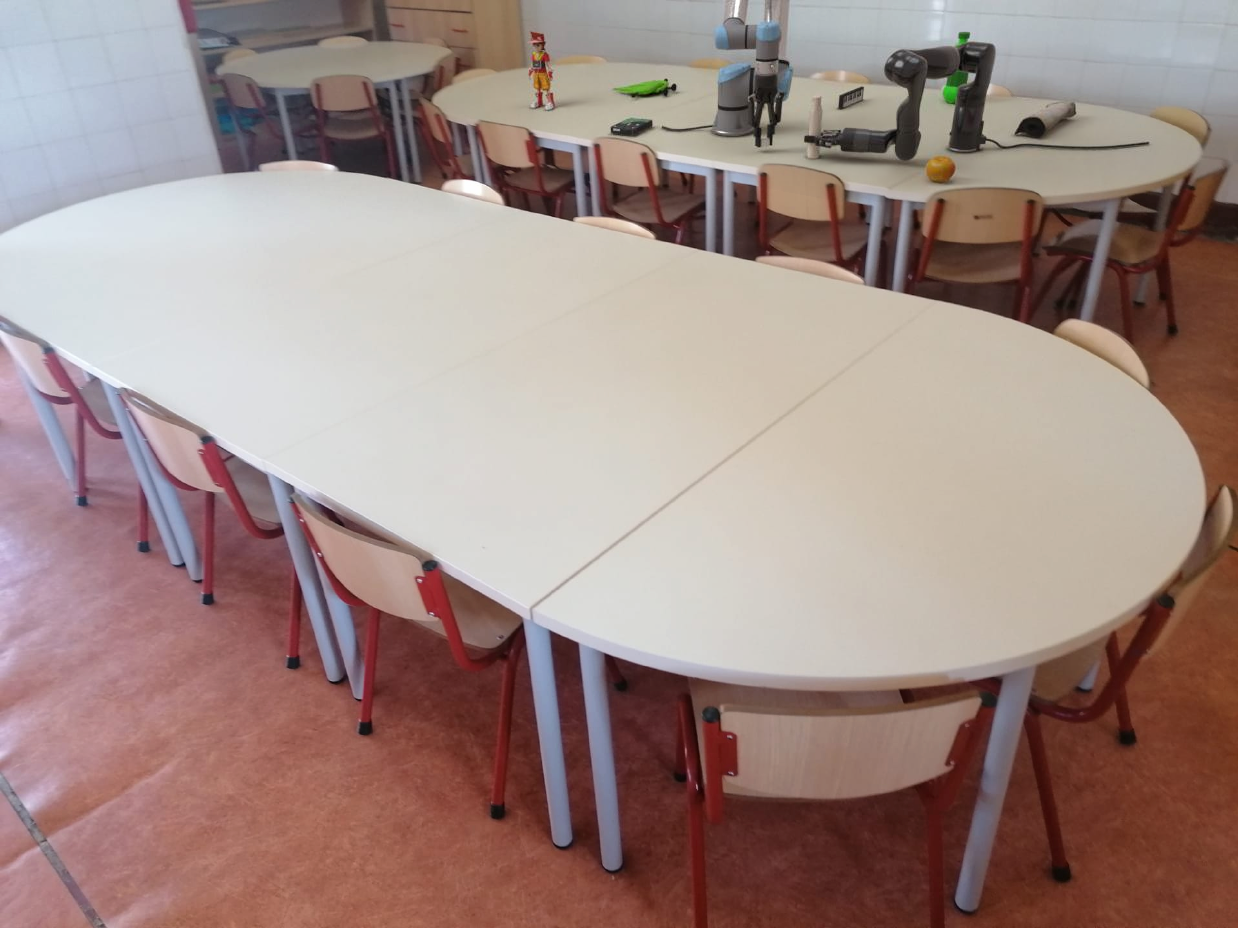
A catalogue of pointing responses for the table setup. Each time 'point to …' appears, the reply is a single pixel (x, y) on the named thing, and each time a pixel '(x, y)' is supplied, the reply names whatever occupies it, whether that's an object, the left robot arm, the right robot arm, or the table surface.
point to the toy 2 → (648, 88)
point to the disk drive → (631, 126)
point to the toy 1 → (541, 71)
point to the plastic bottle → (956, 75)
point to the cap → (765, 142)
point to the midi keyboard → (850, 97)
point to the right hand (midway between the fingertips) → (806, 137)
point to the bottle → (815, 126)
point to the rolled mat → (1046, 118)
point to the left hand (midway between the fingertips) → (763, 145)
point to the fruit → (940, 169)
